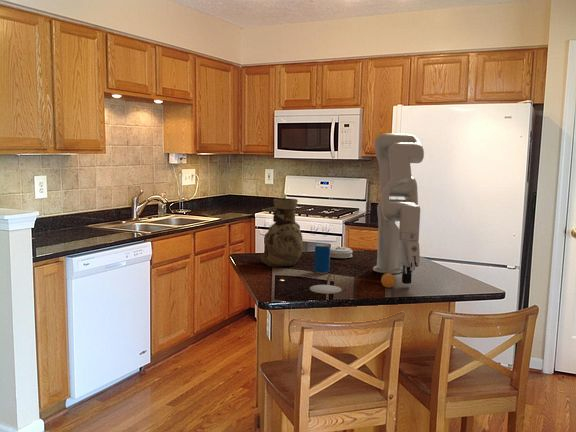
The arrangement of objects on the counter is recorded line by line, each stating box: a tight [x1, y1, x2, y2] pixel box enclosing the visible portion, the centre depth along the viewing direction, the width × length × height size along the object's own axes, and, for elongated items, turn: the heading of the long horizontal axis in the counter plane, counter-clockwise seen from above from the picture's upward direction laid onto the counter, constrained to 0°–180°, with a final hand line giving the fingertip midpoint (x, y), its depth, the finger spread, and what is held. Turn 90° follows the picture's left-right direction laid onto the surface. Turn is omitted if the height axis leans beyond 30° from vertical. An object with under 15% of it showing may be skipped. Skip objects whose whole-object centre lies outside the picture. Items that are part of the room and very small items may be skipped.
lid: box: [329, 246, 354, 259], centre depth 255 cm, size 13×13×5 cm
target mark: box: [309, 284, 343, 295], centre depth 193 cm, size 12×12×1 cm
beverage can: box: [313, 243, 331, 275], centre depth 220 cm, size 6×6×12 cm
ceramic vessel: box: [260, 198, 304, 268], centre depth 233 cm, size 19×21×30 cm
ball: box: [380, 273, 397, 289], centre depth 198 cm, size 6×6×6 cm
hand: (406, 283), depth 200 cm, fingers closed
